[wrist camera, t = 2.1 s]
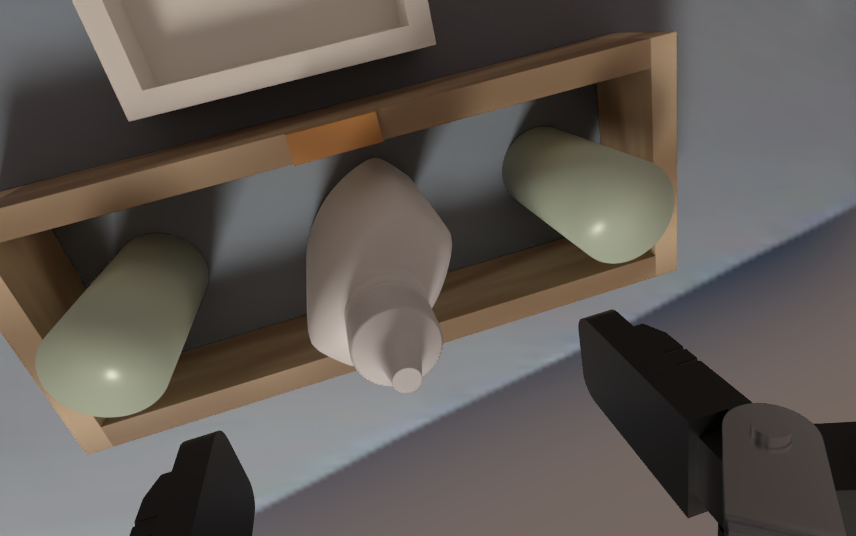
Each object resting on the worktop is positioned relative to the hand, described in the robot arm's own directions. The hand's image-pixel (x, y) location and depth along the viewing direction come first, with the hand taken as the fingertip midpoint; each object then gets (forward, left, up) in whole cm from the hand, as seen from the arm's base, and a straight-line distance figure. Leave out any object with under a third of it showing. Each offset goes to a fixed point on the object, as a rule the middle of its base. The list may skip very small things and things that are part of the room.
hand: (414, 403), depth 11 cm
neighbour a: (0, -9, -13) cm, 15 cm away
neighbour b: (0, +8, -13) cm, 15 cm away
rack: (0, 0, -13) cm, 13 cm away
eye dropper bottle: (0, 0, -13) cm, 13 cm away
